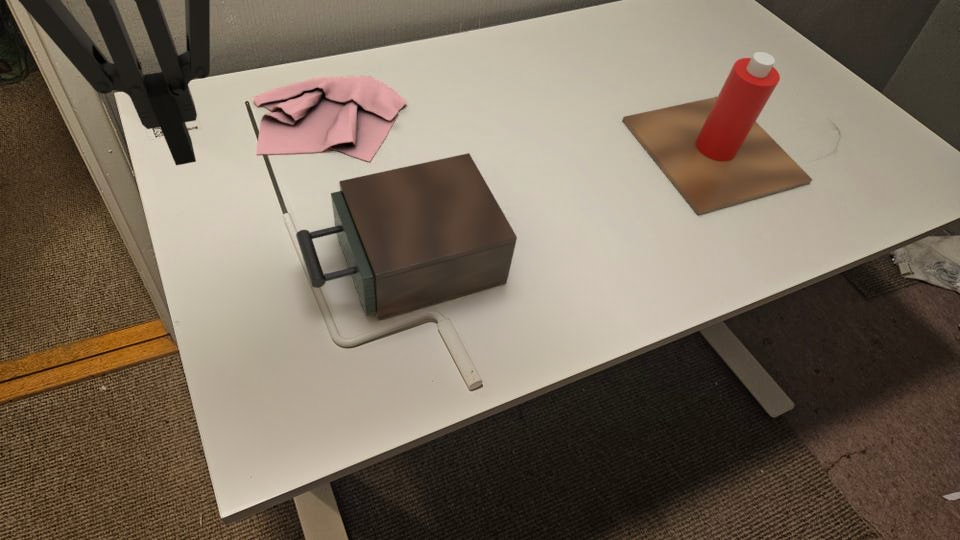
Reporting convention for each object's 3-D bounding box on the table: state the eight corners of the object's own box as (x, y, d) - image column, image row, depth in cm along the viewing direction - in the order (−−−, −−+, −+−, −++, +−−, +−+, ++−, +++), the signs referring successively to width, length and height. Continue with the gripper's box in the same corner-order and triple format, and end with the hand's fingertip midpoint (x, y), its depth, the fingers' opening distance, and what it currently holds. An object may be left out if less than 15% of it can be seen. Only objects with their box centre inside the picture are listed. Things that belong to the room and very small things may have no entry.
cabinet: (378, 321, 67) (375, 275, 60) (345, 231, 74) (339, 180, 67) (506, 283, 72) (517, 237, 65) (463, 202, 79) (469, 152, 72)
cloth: (424, 99, 90) (424, 85, 88) (343, 192, 78) (342, 178, 76) (307, 54, 94) (305, 40, 92) (212, 136, 81) (207, 121, 80)
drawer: (322, 328, 65) (315, 292, 59) (295, 241, 71) (286, 202, 66) (487, 280, 71) (494, 243, 65) (449, 204, 77) (452, 165, 72)
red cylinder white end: (744, 156, 89) (797, 68, 77) (711, 165, 87) (760, 76, 75) (720, 130, 92) (767, 41, 80) (687, 137, 90) (731, 48, 78)
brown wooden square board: (809, 183, 88) (812, 179, 87) (697, 215, 82) (700, 211, 81) (727, 98, 98) (729, 93, 97) (622, 120, 92) (623, 116, 91)
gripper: (176, -235, 34) (258, 108, 53) (-109, -233, 30) (90, 137, 49) (195, -184, 30) (276, 167, 49) (-129, -174, 26) (96, 203, 45)
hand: (183, 152), depth 49 cm, fingers closed
